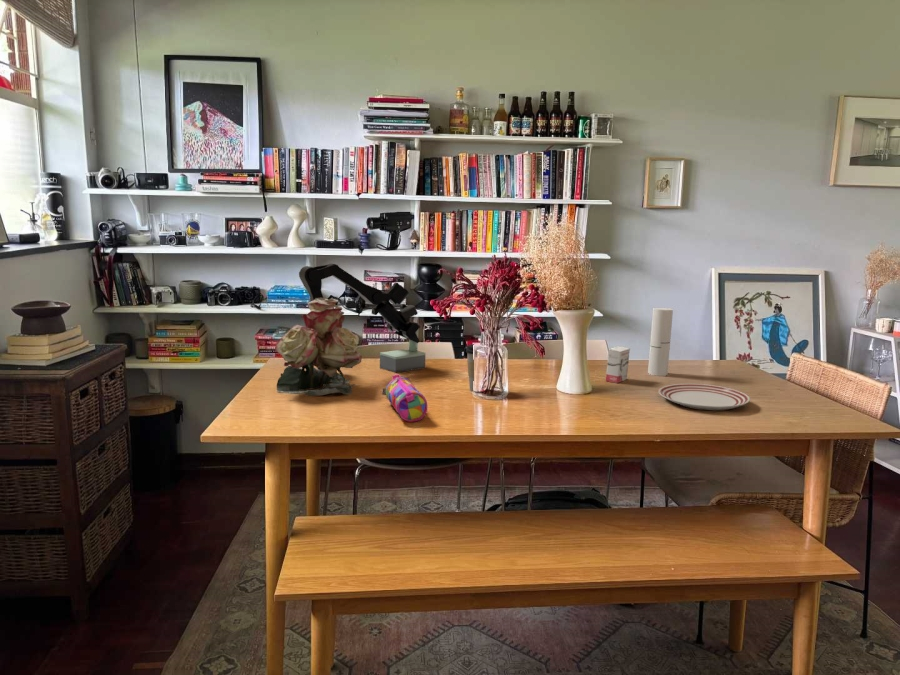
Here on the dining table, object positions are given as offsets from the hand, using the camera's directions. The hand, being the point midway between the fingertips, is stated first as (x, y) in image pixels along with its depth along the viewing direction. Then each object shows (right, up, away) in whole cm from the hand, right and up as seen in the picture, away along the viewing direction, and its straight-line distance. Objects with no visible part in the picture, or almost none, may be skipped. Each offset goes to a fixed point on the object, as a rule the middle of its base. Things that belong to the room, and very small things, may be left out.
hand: (416, 341), depth 254 cm
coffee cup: (+22, -16, -32) cm, 42 cm away
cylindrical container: (+92, -13, -1) cm, 93 cm away
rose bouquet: (-29, -15, -34) cm, 47 cm away
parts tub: (-5, -10, -2) cm, 12 cm away
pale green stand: (-5, -5, -3) cm, 8 cm away
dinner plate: (+94, -20, -40) cm, 104 cm away
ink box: (+73, -14, -13) cm, 76 cm away
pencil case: (-1, -21, -60) cm, 63 cm away
